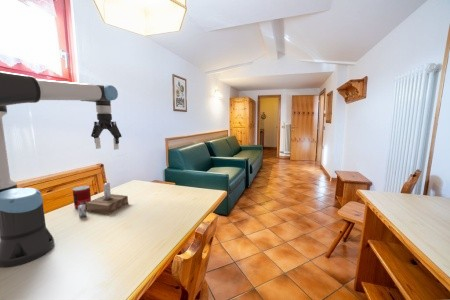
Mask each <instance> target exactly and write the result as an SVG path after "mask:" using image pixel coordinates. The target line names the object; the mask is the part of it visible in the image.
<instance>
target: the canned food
mask: <svg viewBox="0 0 450 300" xmlns="http://www.w3.org/2000/svg"><path fill="white" fill-rule="evenodd" d="M91 195H92V194H91V187H90V185H80V186H77V187H73V188H72V196H73V198H72V199H73V205H74V208H75V209H77V210H78V206H79V205H82V204H85V208H86V209H87V204H86V203H87V202H90V201H92V196H91Z"/></svg>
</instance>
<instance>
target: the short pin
mask: <svg viewBox="0 0 450 300" xmlns="http://www.w3.org/2000/svg"><path fill="white" fill-rule="evenodd" d="M77 211H78V218H79V219H83V218H86V217H87V207H86V208H85V204H82V205H79V206H78V209H77Z"/></svg>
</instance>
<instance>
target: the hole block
mask: <svg viewBox="0 0 450 300" xmlns="http://www.w3.org/2000/svg"><path fill="white" fill-rule="evenodd" d="M128 198H129V197H128V195H123V194H113V193H111V200H109V201H105V196H104V195H102V196H99V197H97V198H94V199H93V200H92V199H91V201H90V202H87V203H86V204H87V207H86V213H87V212H88V213H95V214H101V215H105V216H107V215H111V214H113V213H115V212H116V211H118V210H120V209H121V208H123V207H125V206H127V205H129V200H128Z"/></svg>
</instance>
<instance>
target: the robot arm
mask: <svg viewBox="0 0 450 300" xmlns="http://www.w3.org/2000/svg"><path fill="white" fill-rule="evenodd" d="M118 96H119V93H118V89H117V88H116V87H115V86H113V85H108V84H106V85H105V84H104V85H103V84H101V85H100V84H94V83H93V84H92V83H91V84H90V83H82V82H81V83H79V82H70V81H58V80H57V81H56V80H49V79H39V78H36V77H34V76H33V75H27V74H26V75H25V74H20V73H12V72H7V71H0V268H8V267H15V266H19V265H23V264H26V263H30V262H32V261H34V260H36V259H39V258H40V257H43V256H44V255H45V254H46V255H47V253H48V252H50V251H51V250H53V248H54V246H55V239H54V237H53V235H52V233H51V232H50V230H49V229H48V228H47V226H46V218H45V217H46V216H45V209H44V203H43V202H44V198H43V196H42V193H41V191H40V190H39V189H37V188H33V187H18V184H17V181H16V182H15V181H14V180H12V179H11V175H10V167H9V161H8V159H9V158H8V152H7V145H6V139H5V137H6V136H5V130H4V122H3V117H4V116H5V115H7V114H8V108H7V106H11V105H22V104H28V103H31V104H32V103H33V104H36V103H37V104H38V102H40V101H81V102H89V103H90V102H91V103H95V108H96V109H95V110H96V113H97V114H96V119H97V120H98V121H93V128H92V131H91V135H90V137H92V138H93V139H94V143H95V144H94V145H95V149H97V150H98V149H101V146H102V145H101V138H100V136H101V134H102V132H103V131H104V130H108V132H109V133H110V134H111V136H112V137H113V139H112V140H113V141H112V142H113V150H119V148H120V147H119V146H120V145H119V143H120V138H122V136H123V135H122V134H121V132H120V130H119V127H118V125H117V121H112V120H113V116H112V104H111V103H112V101H115V100H116V99H117V98H118Z"/></svg>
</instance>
